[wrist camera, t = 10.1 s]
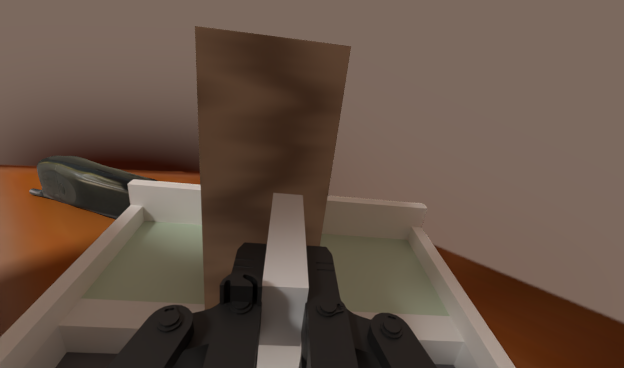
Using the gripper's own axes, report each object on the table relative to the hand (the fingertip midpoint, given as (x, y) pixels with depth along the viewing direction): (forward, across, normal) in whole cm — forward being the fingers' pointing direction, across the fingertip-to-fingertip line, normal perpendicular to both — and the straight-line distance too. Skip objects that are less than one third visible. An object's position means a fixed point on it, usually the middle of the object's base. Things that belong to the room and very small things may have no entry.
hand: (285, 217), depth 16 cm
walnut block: (+5, -2, -8) cm, 9 cm away
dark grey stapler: (+16, -20, -10) cm, 27 cm away
